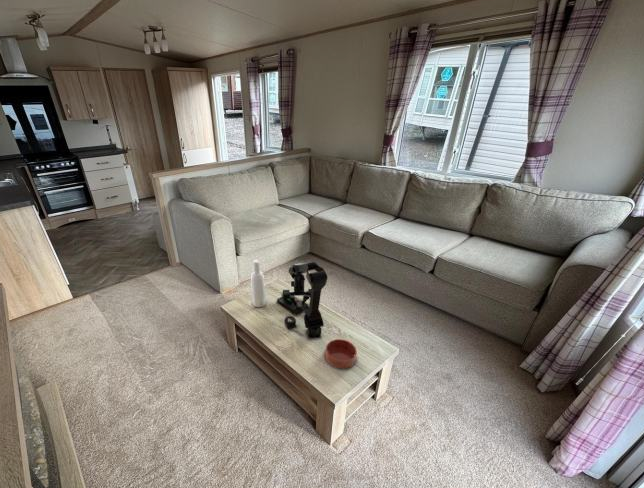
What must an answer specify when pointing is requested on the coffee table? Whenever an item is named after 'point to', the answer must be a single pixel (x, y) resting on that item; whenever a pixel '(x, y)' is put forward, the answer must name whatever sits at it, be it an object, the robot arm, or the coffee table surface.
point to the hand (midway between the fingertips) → (299, 305)
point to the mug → (290, 322)
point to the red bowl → (341, 353)
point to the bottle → (258, 285)
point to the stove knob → (298, 303)
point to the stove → (291, 305)
